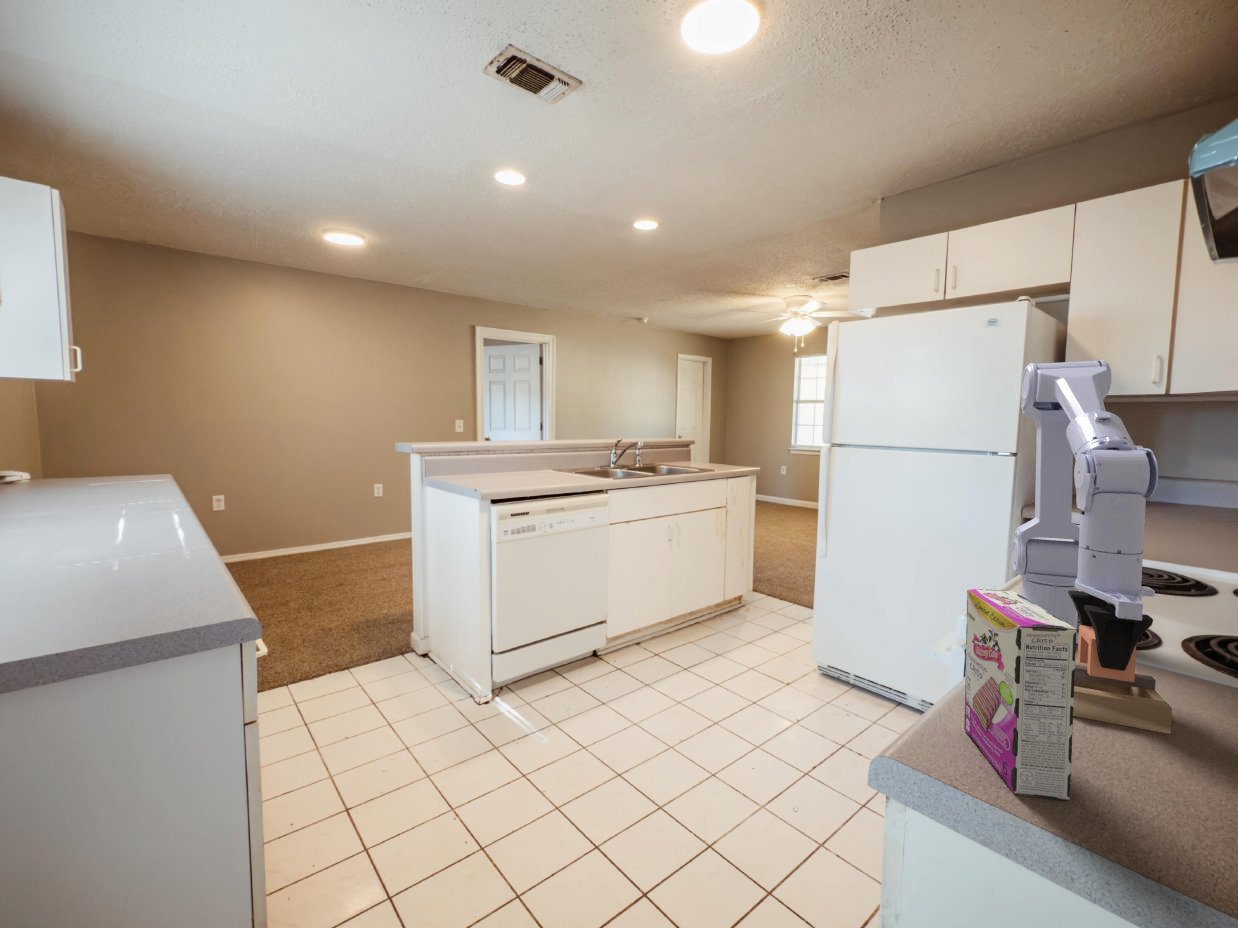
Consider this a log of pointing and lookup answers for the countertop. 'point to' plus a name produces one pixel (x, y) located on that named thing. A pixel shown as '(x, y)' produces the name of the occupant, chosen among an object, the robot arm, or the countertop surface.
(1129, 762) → the countertop surface
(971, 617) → the candy bar box
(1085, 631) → the salmon notched block
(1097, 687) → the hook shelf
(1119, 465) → the robot arm
